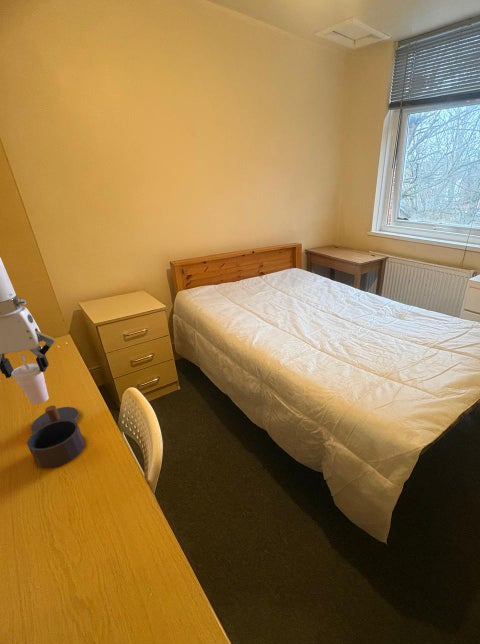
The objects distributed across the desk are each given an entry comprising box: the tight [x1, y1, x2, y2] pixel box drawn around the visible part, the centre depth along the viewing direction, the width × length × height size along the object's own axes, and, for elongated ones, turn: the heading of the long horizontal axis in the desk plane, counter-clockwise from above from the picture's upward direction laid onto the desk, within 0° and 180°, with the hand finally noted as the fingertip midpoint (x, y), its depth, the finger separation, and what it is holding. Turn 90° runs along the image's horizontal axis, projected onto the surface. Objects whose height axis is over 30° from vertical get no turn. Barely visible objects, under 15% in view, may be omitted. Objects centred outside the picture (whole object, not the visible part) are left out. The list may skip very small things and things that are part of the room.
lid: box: [30, 404, 80, 434], centre depth 98 cm, size 12×12×6 cm
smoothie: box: [11, 354, 50, 405], centre depth 82 cm, size 6×6×14 cm
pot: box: [26, 420, 86, 469], centre depth 88 cm, size 11×11×6 cm
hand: (27, 371), depth 81 cm, fingers closed on smoothie, 6 cm apart
